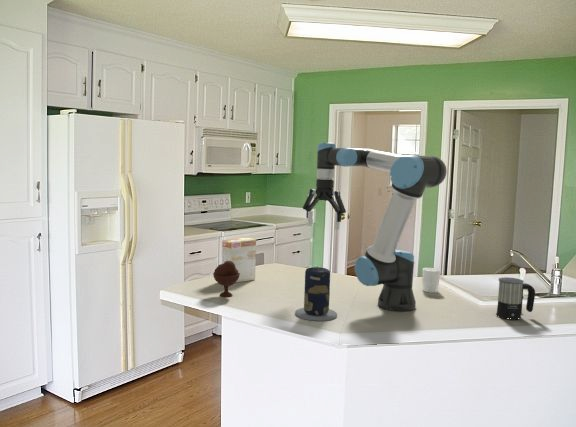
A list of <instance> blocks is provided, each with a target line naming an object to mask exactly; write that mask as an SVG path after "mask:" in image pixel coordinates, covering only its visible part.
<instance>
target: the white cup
mask: <svg viewBox="0 0 576 427" xmlns="http://www.w3.org/2000/svg"><path fill="white" fill-rule="evenodd" d="M440 276H441V269H440V268H435V267H423V268H422V277H421V278H422V281H421V282H422V288H421V290H422V291H424V292H426V293H432V294H434V293H437V292H439V285H440V278H441V277H440Z"/></svg>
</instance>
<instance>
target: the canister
mask: <svg viewBox="0 0 576 427" xmlns="http://www.w3.org/2000/svg"><path fill="white" fill-rule="evenodd" d="M330 286H331V271H330V269H328V268H325V267H322V266H321V267H319V266H315V267H314V266H312V267H308V268H306V269H305V272H304V293H303V295H304V297H303V298H304V299H303V308H304V311H305V312H306V313H308V314H312V315H323V314H326V313H328V311H329V309H330V295H331V294H330V291H331V290H330V289H331V288H330Z"/></svg>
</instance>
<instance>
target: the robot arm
mask: <svg viewBox="0 0 576 427" xmlns="http://www.w3.org/2000/svg"><path fill="white" fill-rule="evenodd" d="M316 154H317V159H316V178H317V179H316V182H315V183H316V184H315V186H316V189H315V188H310V189H309V192H308V196H307V197H306V200H305V202H304V204H303V206H302V209H303V210H304V211H306V215H305V216H306V219H307V227H312V226H313V218H314V217H313V215H314V214H313V213H314V211H313V209H314V207H315V206H316V205H317V204H318V202H320V201H327V202H328V203H330V205H331V207H332V209H333V210H334V211H335V215H334V230H335V231H336V230H340V223H341V222H342V215H343V214H346V212H347V210H346V208H345V205H344V202H343V200H342V197H341V191H340V190H336V191H334V186H335V185H334V184H335V180H334V178H335V166H338V167H362V168H363V167H365V168H369V169H374V170H379V171H384V172H387V173H388V172H389V176H390V182H391V188H392V190H393V192H392V195H391V197H390V199H389V202H388V206H387V208H386V209H385V213H384V215H383V217H382V221H381V223H380V225H379V228H378V230H377V233H376V236H375V239H374V240H373V244H372V245H369V246H368V247H367V248H366V251H365V252H364V255H361V256H359V257H357V259H356V260H355V263H354V274H355V276H356V278H357V280H358V282H359V283H361V284H362V285H364V286H366V287H376V286H379V285H383V286H382V289H381V291H380V293H379V296H378V298H377V306H378V307H381V309H385V310H389V311H390V310H391V311H397V312H409V311H412V310H415V309H416V307H417V306H416V304H417V302H416V298H415V295H414V291H413V281H414V269H415V268H414V267H415V255H414V254H413V253H412V252H411V251H406V250H402V249H397V247H398V244H399V241H400V239H401V237H402V235H403V232H404V229H405V228H406V224H407V221H408V220H409V218H410V215H411V212H412V210H413V208H414V206H415V202H416V201H417V200H418V199H421V198H422V197H423V194H424V192H425V189H428V188H436V187H438V186H439V185H441V184H442V183H443V182H444V180H445V179H446V177H447V172H448V171H447V166H446V164H445V162H444V161H443V160H442V159H441V158H439V157H438V156H434V155H416V154H408V155H402V154H397V153H391V152H386V151H380V150H376V149H372V148H355V147H354V148H353V147H336V143H333V142H319V143H318V145H317V152H316ZM315 194H316V196H315ZM314 196H315V197H314ZM333 196H334V197H333ZM313 198H314V199H313ZM335 200H336V201H335Z"/></svg>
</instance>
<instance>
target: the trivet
mask: <svg viewBox="0 0 576 427" xmlns="http://www.w3.org/2000/svg"><path fill="white" fill-rule="evenodd" d="M294 315H295V316H296V317H297V318H299V319H301V320H305V321H310V322H328V321H332V320H335V319H337V317H338V313H337V312H336V311H335V310H333V309H330V308H329V311H328V313H326V314H323V315H312V314H308V313H306V312H305V311H304V307H301V308H298V309H296V310H295V312H294Z"/></svg>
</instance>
